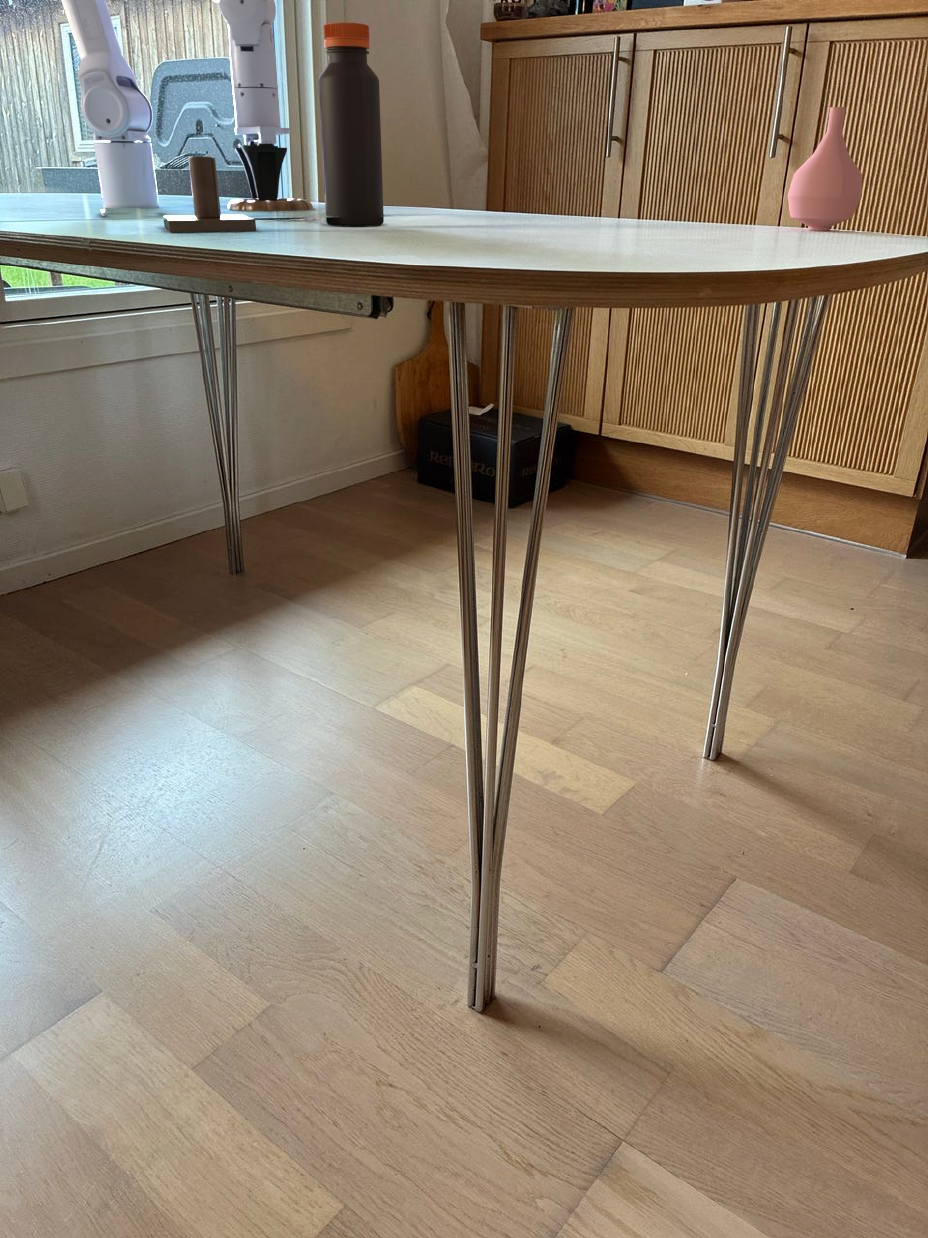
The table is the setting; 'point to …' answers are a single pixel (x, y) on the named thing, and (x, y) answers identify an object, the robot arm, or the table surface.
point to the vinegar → (350, 129)
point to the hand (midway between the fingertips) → (265, 204)
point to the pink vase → (826, 181)
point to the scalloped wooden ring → (270, 206)
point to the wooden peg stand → (206, 204)
